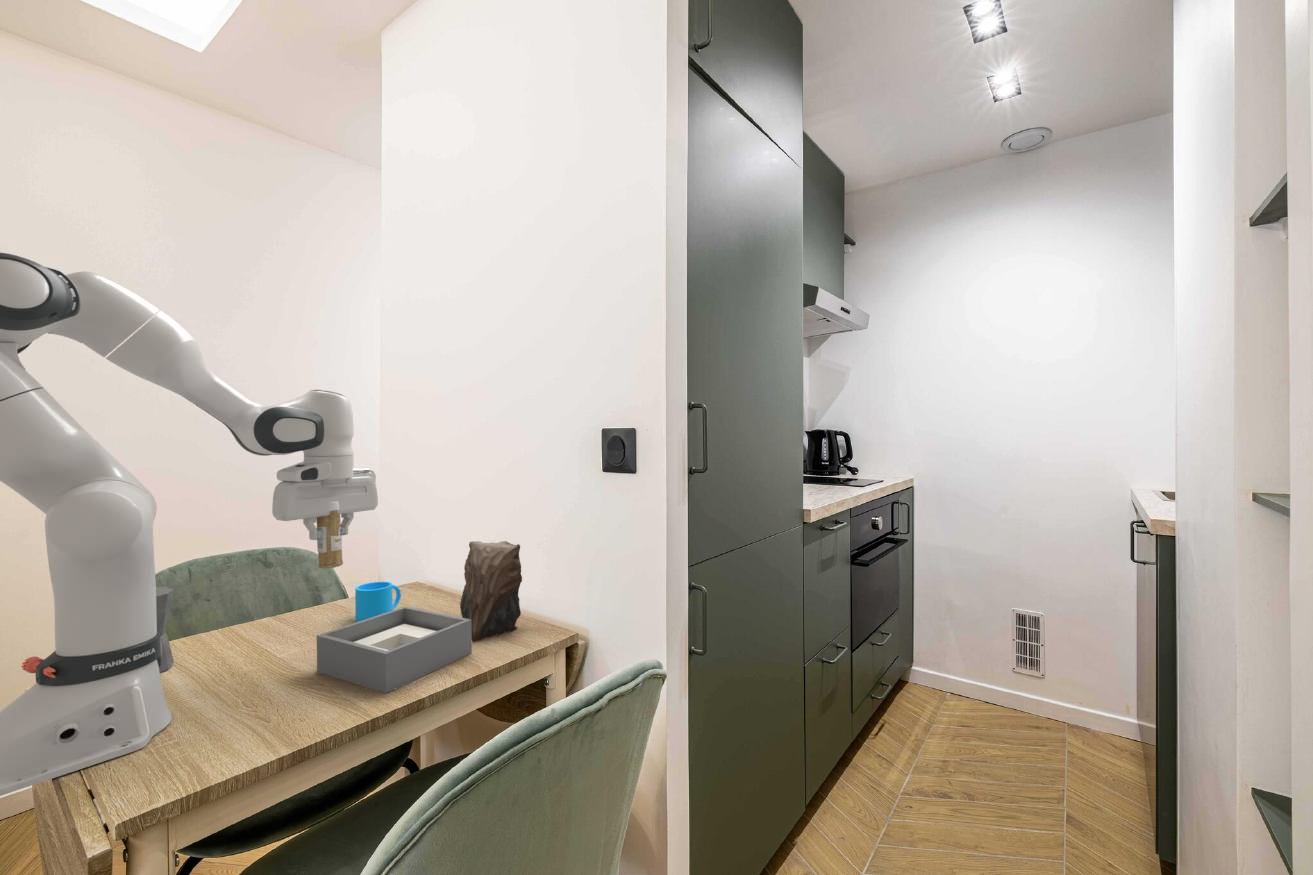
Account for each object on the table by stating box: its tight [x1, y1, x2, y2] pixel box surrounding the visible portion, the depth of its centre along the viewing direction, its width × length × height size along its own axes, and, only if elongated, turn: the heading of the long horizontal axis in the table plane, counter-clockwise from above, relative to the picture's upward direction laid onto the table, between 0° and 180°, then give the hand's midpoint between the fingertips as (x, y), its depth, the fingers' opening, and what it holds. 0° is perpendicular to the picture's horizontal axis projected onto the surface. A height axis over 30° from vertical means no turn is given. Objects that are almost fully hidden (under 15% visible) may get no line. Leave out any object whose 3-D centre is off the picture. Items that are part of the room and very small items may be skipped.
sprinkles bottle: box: [316, 502, 344, 570], centre depth 115 cm, size 5×5×14 cm
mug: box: [354, 581, 402, 623], centre depth 140 cm, size 12×8×8 cm
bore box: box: [316, 605, 473, 694], centre depth 112 cm, size 20×20×7 cm
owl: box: [459, 540, 523, 642], centre depth 130 cm, size 13×13×20 cm
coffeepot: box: [156, 586, 175, 674], centre depth 107 cm, size 15×9×18 cm, turn 6°
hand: (329, 537), depth 115 cm, fingers closed on sprinkles bottle, 4 cm apart
